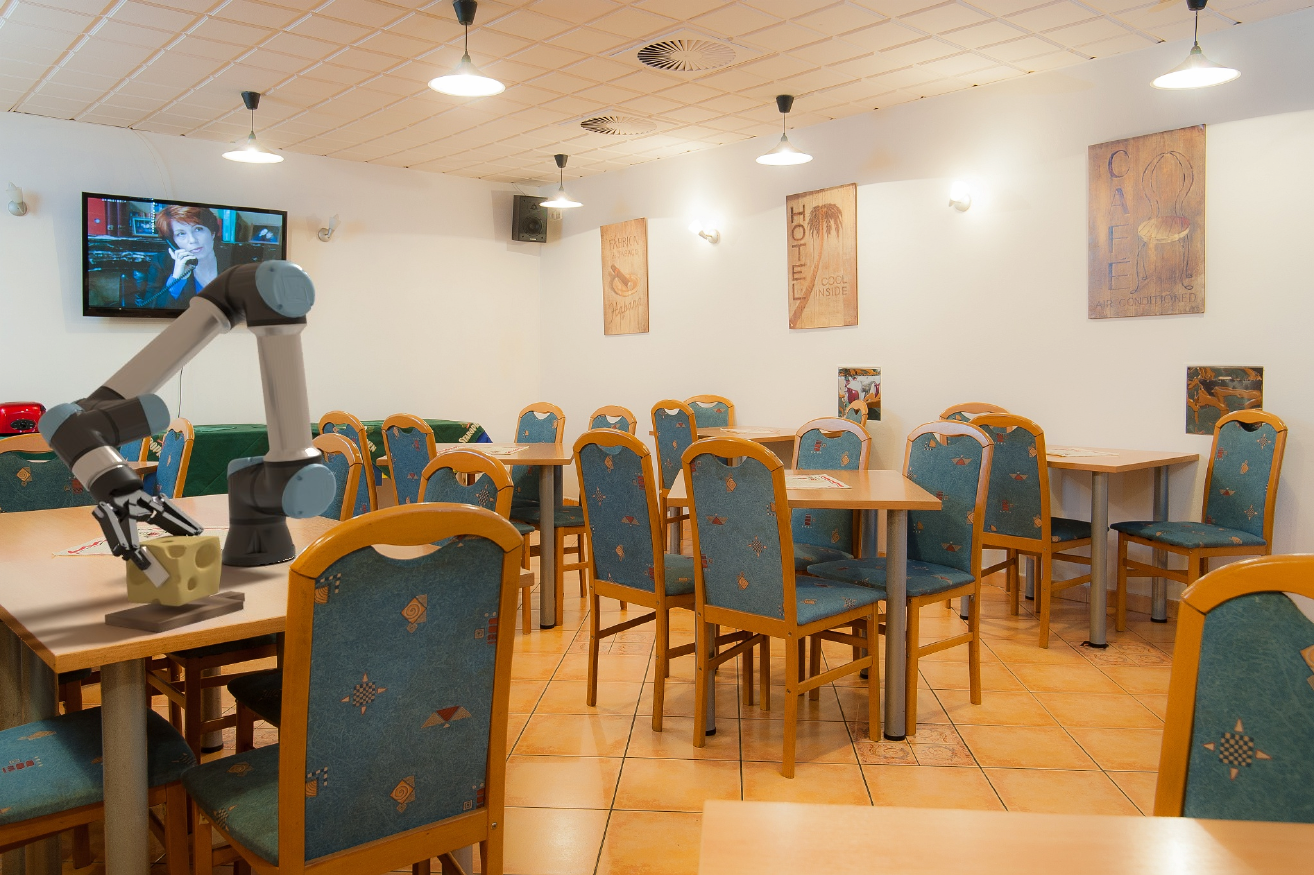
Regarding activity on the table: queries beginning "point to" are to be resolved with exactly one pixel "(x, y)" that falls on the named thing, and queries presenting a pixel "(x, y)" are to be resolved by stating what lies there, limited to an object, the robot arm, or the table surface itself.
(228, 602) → the board
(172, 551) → the cheese
